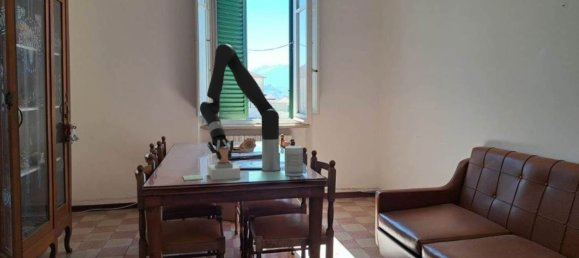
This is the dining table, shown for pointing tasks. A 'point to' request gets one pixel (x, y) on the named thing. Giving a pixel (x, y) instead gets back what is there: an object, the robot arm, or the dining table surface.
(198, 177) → the sage mat
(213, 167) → the parts tub
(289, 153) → the supplement tub
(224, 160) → the tan brown block
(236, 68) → the robot arm
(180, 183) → the dining table surface
